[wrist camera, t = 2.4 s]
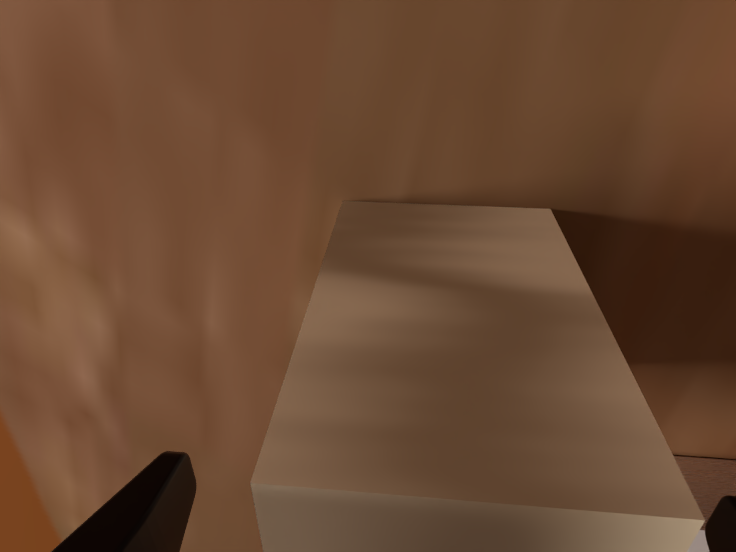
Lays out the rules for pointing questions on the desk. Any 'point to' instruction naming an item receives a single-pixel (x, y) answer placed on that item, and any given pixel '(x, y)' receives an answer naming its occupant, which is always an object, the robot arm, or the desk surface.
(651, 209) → the desk surface
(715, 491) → the rectangular frame
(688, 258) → the desk surface
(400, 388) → the peg
